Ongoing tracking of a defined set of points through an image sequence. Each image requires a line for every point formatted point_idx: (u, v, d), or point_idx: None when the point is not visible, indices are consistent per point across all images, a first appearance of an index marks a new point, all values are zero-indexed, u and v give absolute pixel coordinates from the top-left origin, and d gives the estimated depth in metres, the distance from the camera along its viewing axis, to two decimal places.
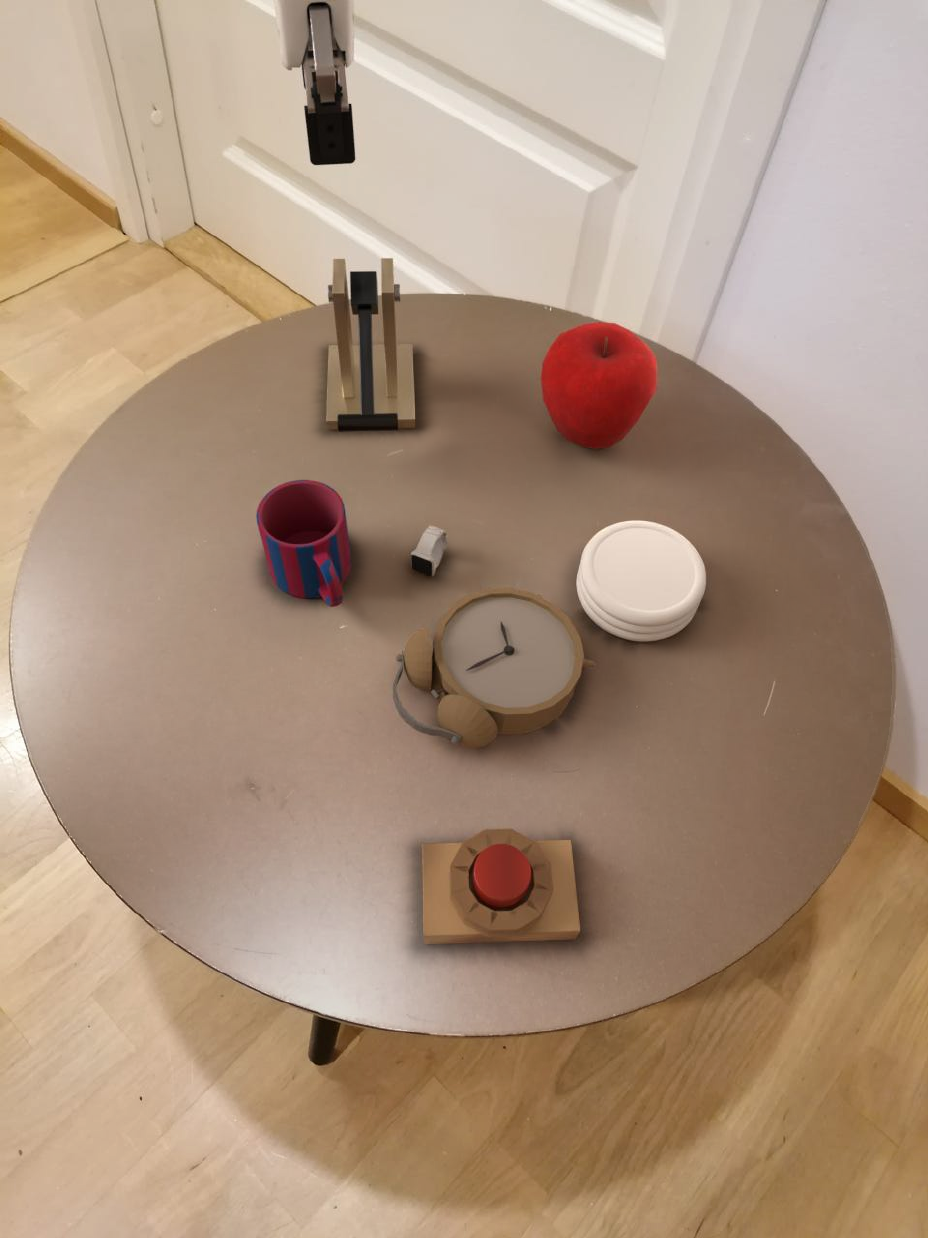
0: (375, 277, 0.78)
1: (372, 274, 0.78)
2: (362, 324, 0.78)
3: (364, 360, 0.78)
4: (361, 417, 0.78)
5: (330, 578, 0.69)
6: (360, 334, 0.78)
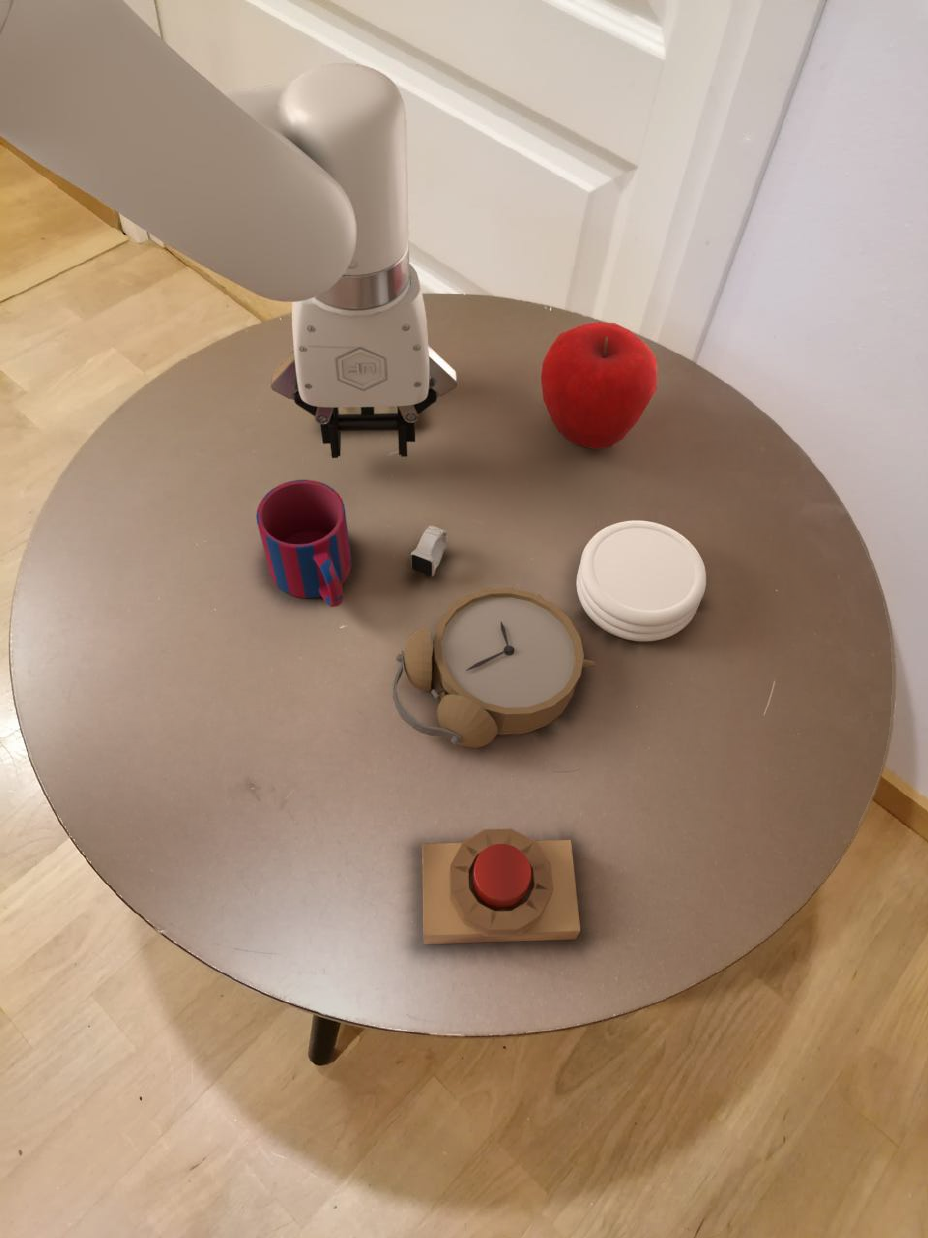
0: None
1: None
2: None
3: None
4: (361, 417, 0.78)
5: (330, 578, 0.69)
6: None
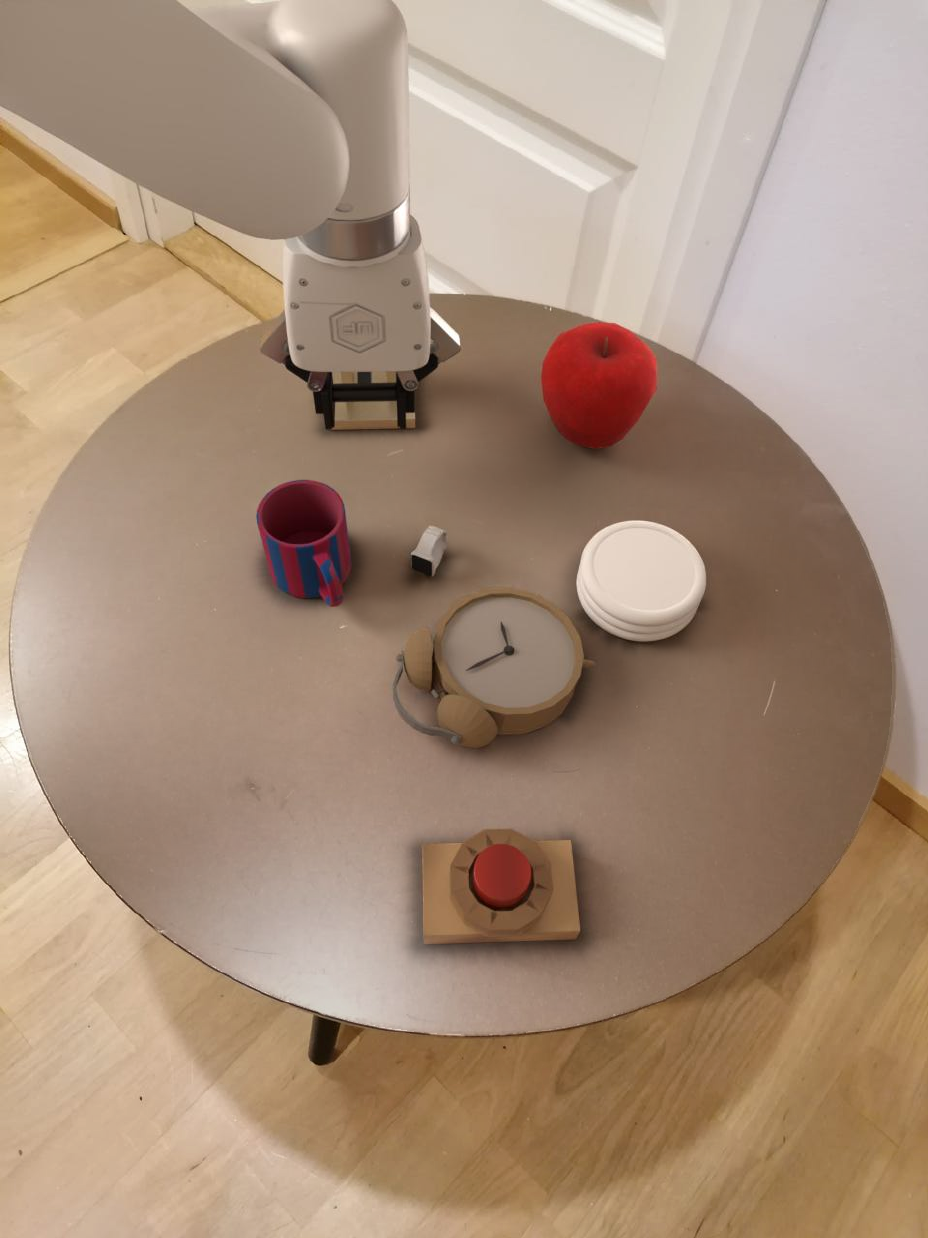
0: None
1: None
2: None
3: None
4: (357, 384, 0.73)
5: (330, 578, 0.69)
6: None
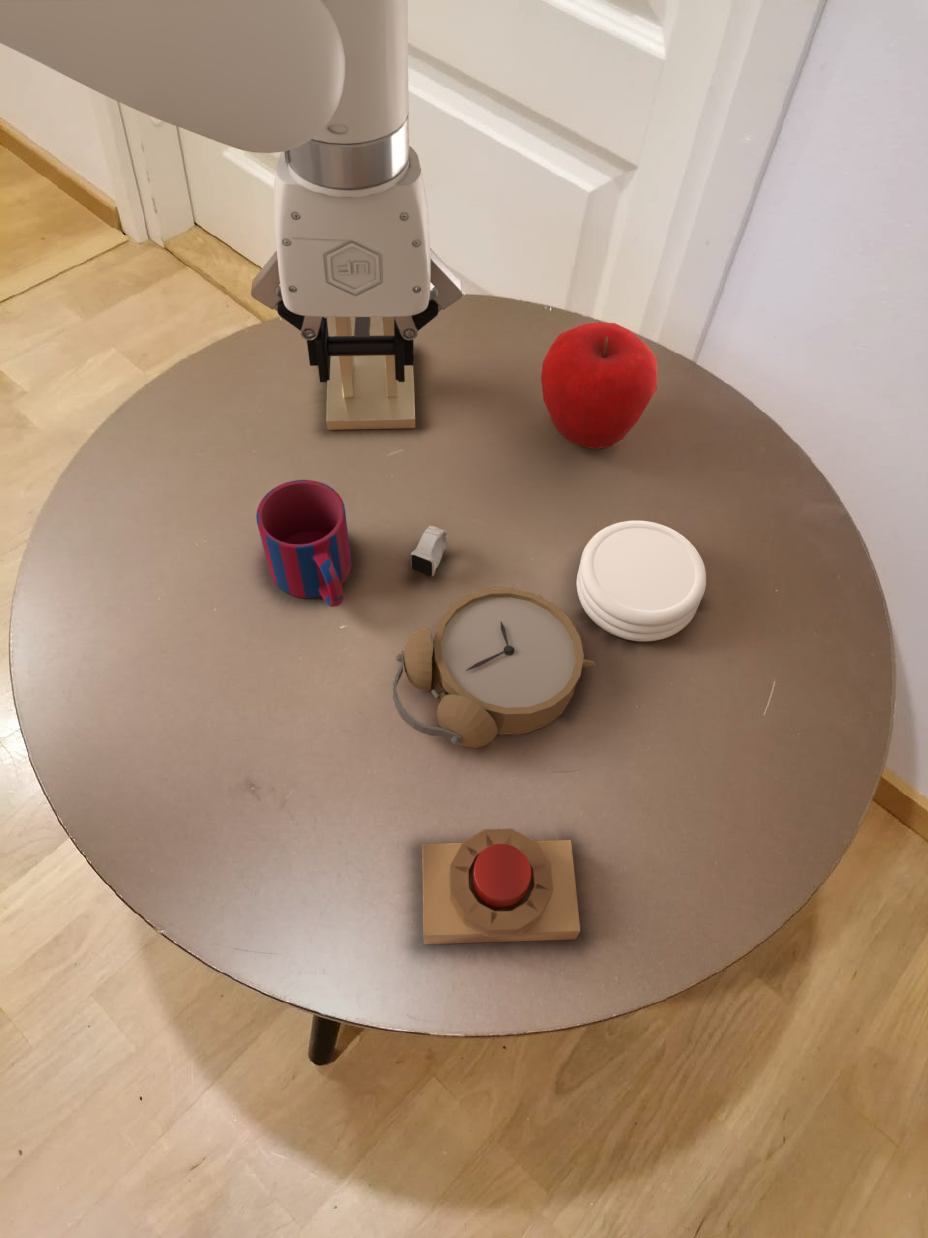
0: None
1: None
2: None
3: None
4: (354, 336, 0.70)
5: (330, 578, 0.69)
6: None
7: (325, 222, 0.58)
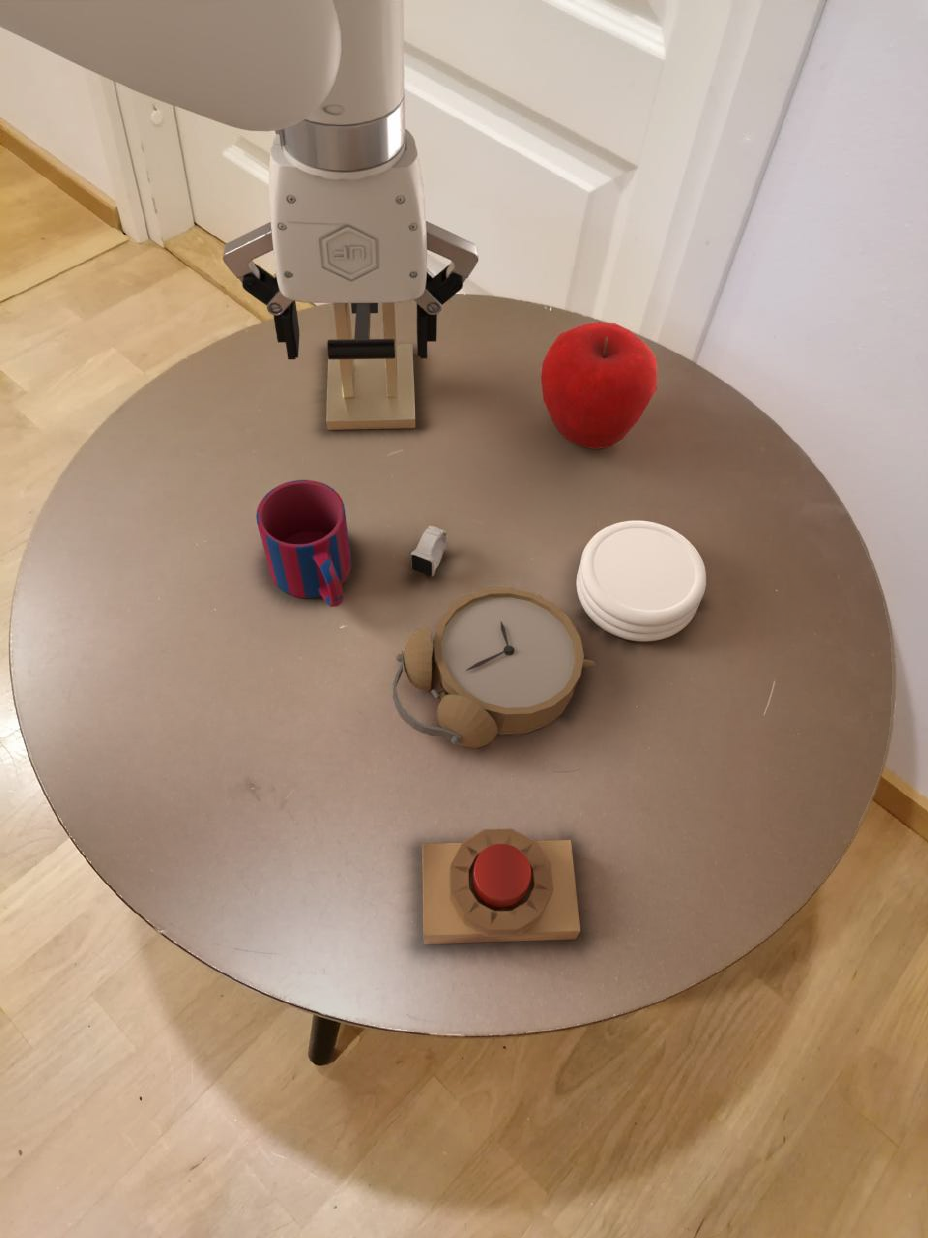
0: None
1: None
2: None
3: (361, 315, 0.74)
4: (354, 339, 0.70)
5: (330, 578, 0.69)
6: (358, 304, 0.76)
7: (321, 205, 0.58)
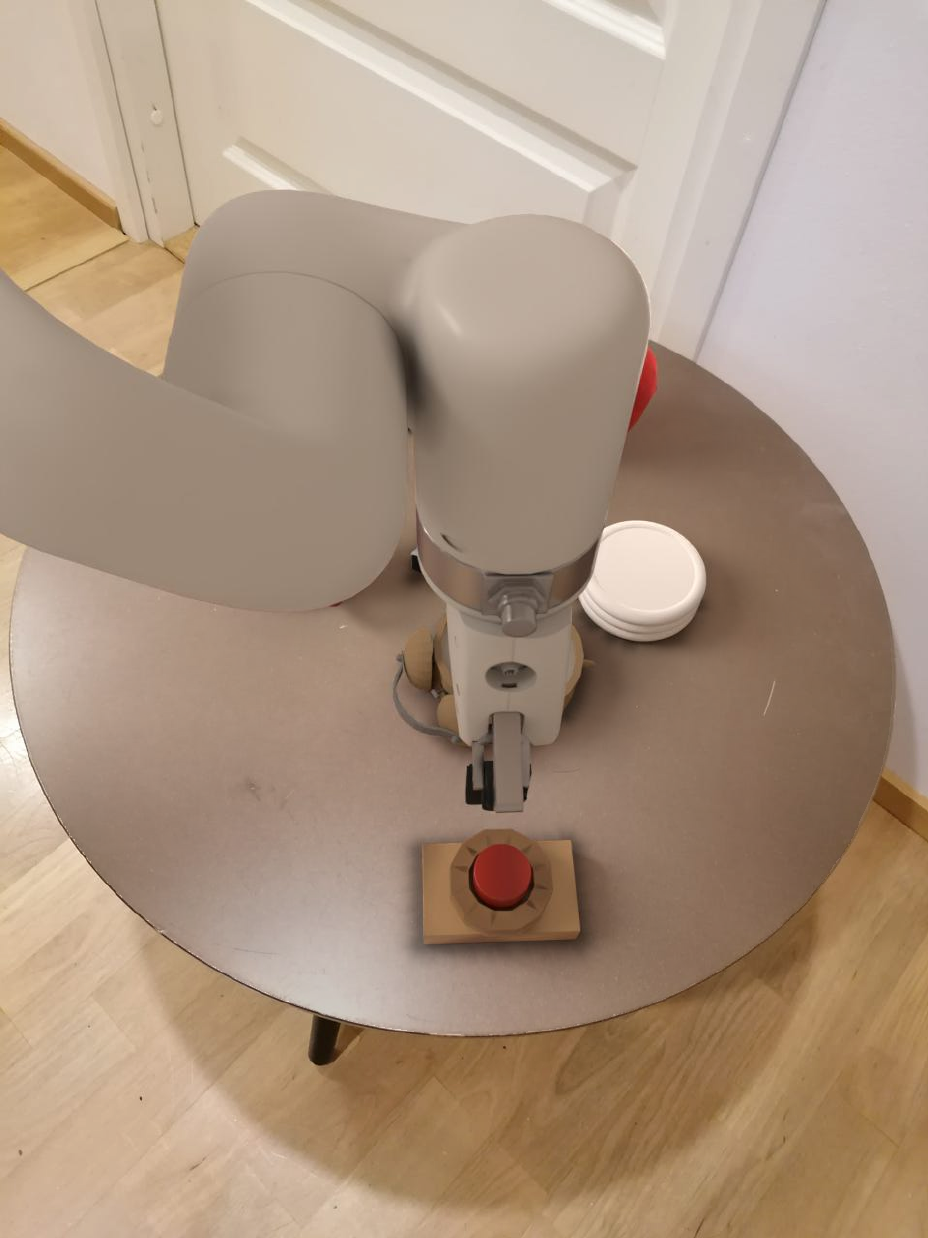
0: None
1: None
2: None
3: None
4: None
5: None
6: None
7: None
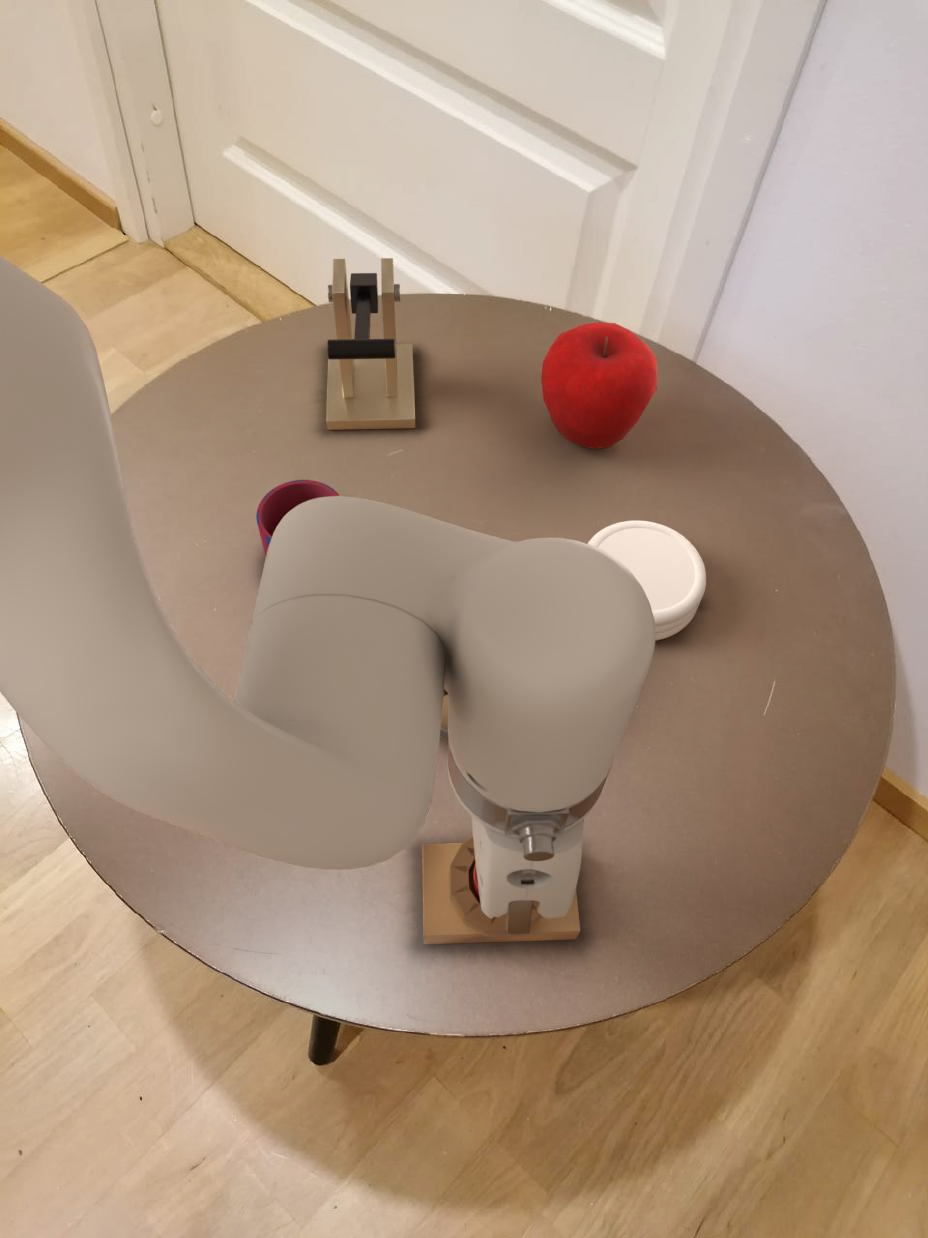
0: (375, 275, 0.79)
1: (373, 273, 0.79)
2: (360, 300, 0.76)
3: (361, 315, 0.74)
4: (354, 339, 0.70)
5: None
6: (358, 304, 0.76)
7: None
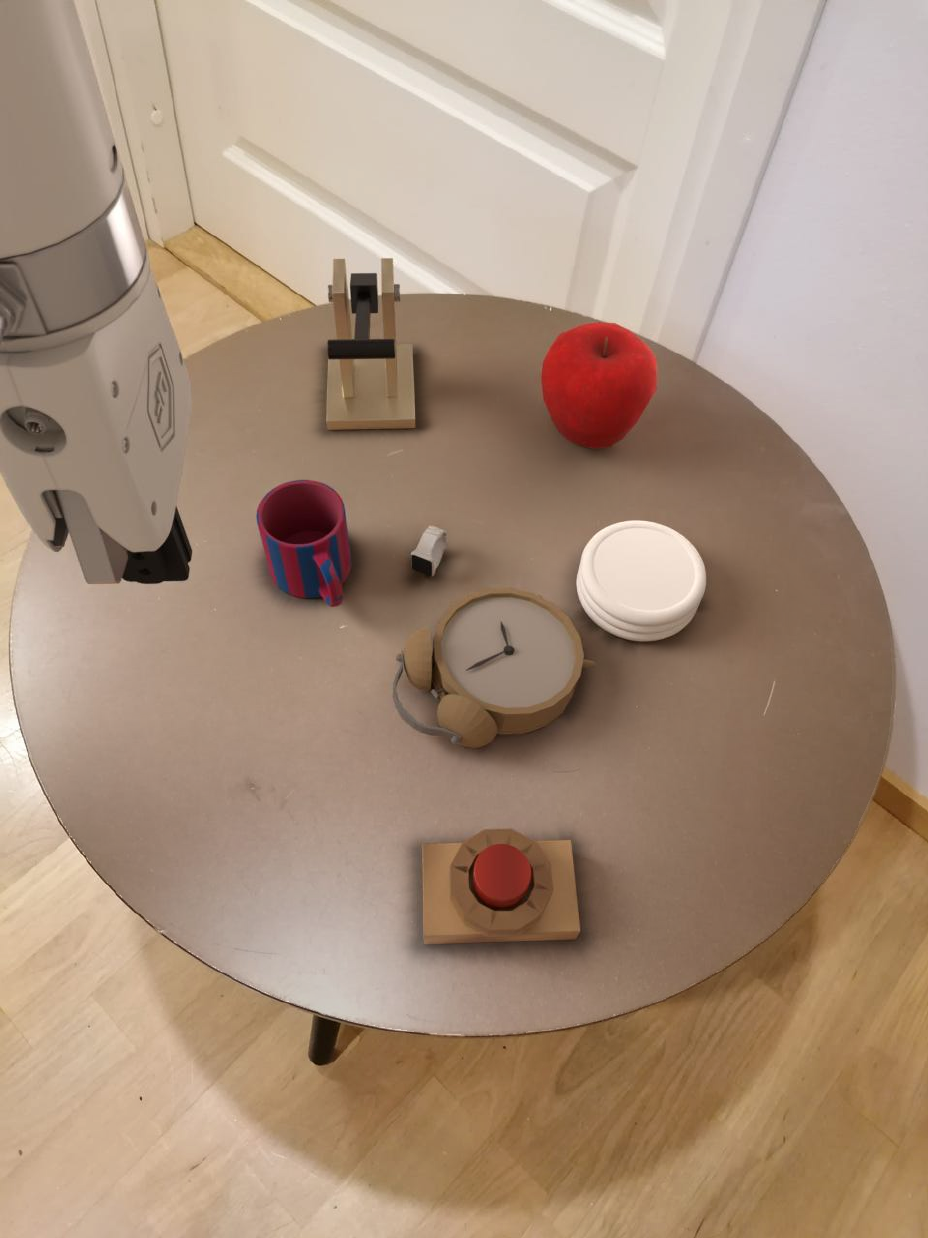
0: (375, 275, 0.79)
1: (373, 273, 0.79)
2: (360, 300, 0.76)
3: (361, 315, 0.74)
4: (354, 339, 0.70)
5: (330, 578, 0.69)
6: (358, 304, 0.76)
7: (131, 359, 0.33)
